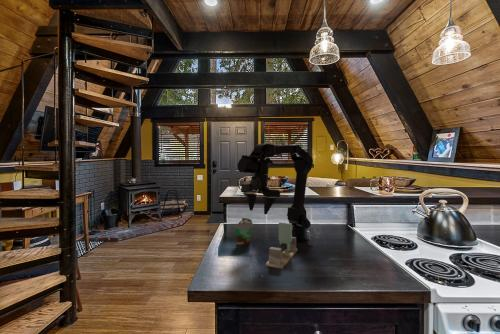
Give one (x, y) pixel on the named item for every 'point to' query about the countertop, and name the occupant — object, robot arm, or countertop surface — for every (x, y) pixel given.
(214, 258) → the countertop surface
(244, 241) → the food container
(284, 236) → the grey-green notched block
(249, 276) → the countertop surface
